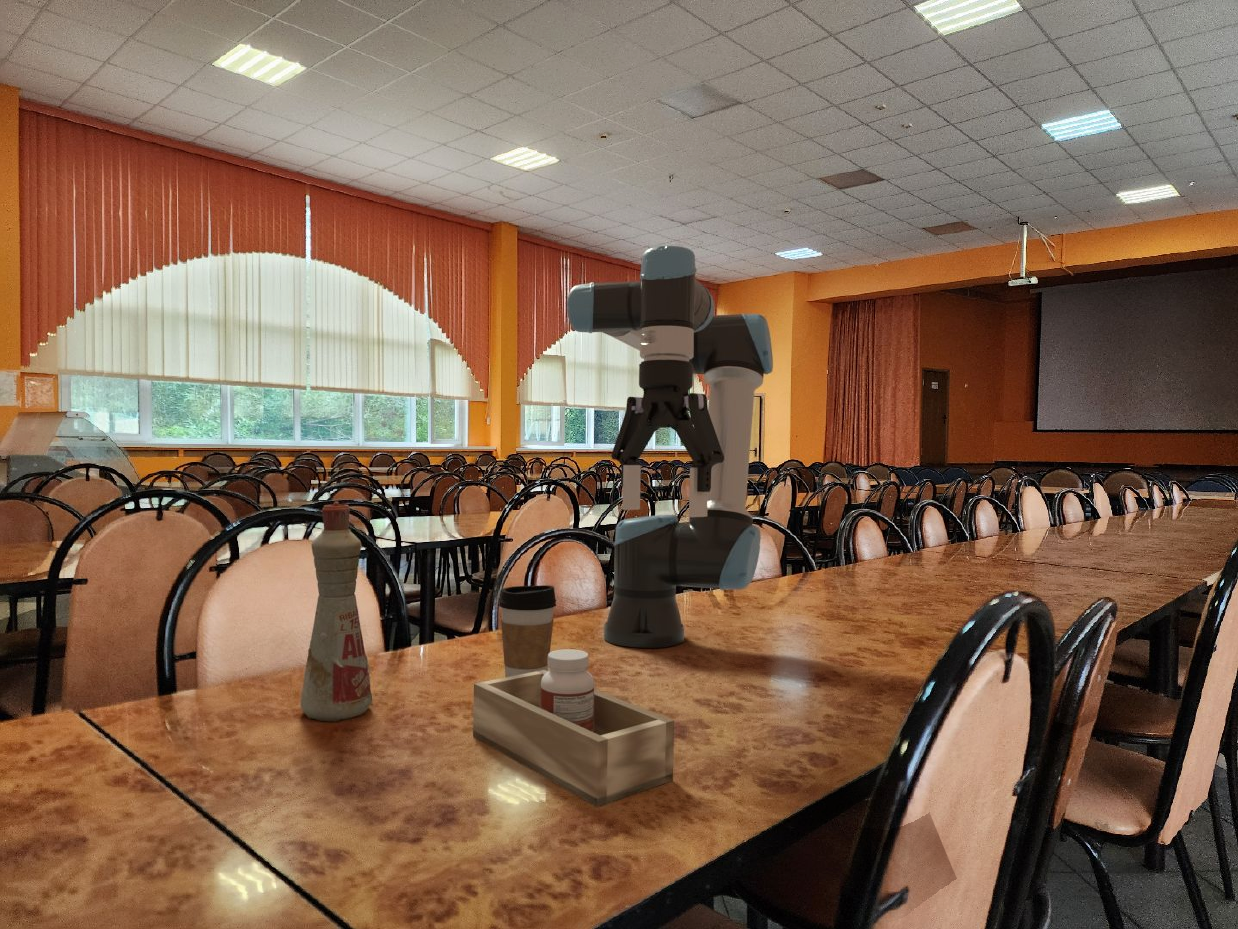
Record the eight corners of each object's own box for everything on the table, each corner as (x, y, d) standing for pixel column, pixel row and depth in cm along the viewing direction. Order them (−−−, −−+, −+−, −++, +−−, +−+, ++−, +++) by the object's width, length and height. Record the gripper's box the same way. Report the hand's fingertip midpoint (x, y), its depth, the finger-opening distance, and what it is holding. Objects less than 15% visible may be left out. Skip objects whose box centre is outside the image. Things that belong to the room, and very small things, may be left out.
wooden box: (543, 719, 104) (544, 669, 104) (672, 780, 86) (674, 720, 86) (472, 736, 98) (473, 683, 98) (597, 807, 79) (598, 741, 79)
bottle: (315, 700, 110) (318, 498, 110) (380, 702, 110) (383, 499, 109) (287, 722, 102) (290, 502, 101) (358, 724, 101) (361, 503, 101)
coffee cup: (545, 699, 113) (547, 593, 113) (488, 694, 115) (490, 590, 114) (561, 682, 121) (563, 584, 121) (508, 678, 123) (510, 581, 123)
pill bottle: (542, 739, 95) (544, 646, 95) (594, 740, 95) (595, 647, 95) (536, 759, 89) (538, 660, 88) (592, 761, 89) (594, 661, 88)
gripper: (589, 364, 118) (587, 507, 119) (713, 350, 99) (709, 521, 100) (628, 368, 123) (625, 506, 124) (753, 356, 104) (749, 518, 104)
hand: (663, 513), depth 112 cm, fingers open, 13 cm apart
